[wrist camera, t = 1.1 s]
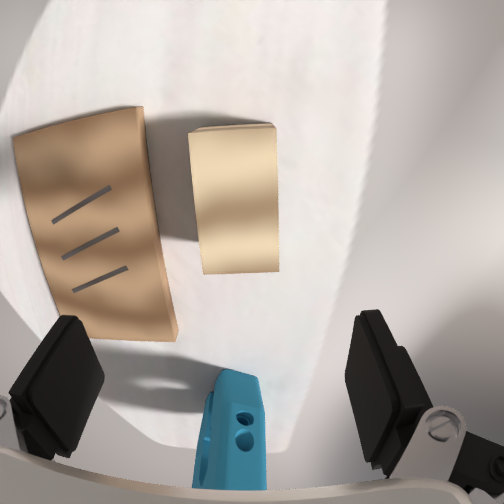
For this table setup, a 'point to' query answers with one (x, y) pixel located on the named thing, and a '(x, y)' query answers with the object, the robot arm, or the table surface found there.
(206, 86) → the table surface
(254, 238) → the block
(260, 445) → the block
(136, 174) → the oak board
